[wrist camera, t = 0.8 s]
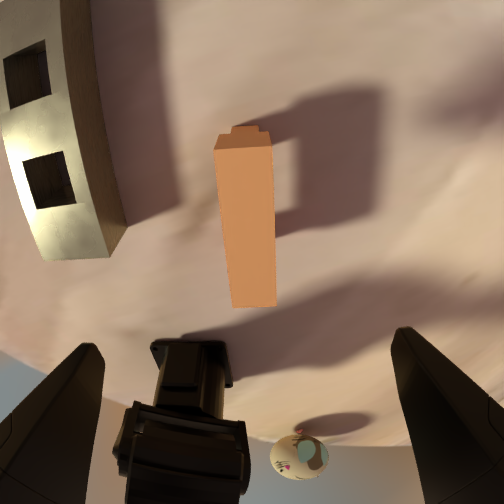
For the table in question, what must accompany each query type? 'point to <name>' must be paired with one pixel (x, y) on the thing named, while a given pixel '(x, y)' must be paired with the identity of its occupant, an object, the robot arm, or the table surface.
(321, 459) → the figurine
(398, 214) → the table surface
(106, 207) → the rail
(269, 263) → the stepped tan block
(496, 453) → the robot arm
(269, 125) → the table surface
